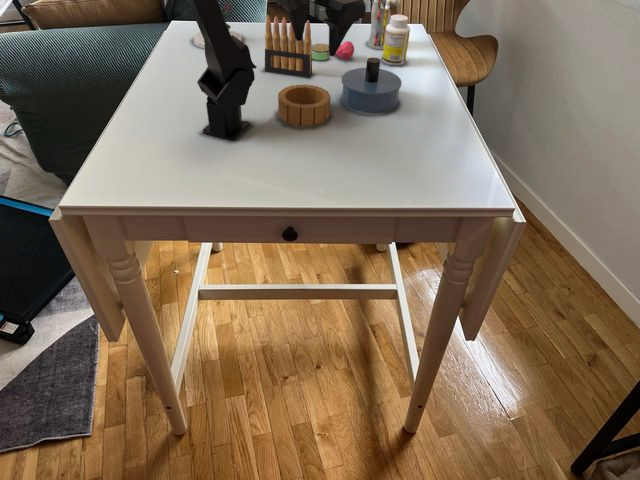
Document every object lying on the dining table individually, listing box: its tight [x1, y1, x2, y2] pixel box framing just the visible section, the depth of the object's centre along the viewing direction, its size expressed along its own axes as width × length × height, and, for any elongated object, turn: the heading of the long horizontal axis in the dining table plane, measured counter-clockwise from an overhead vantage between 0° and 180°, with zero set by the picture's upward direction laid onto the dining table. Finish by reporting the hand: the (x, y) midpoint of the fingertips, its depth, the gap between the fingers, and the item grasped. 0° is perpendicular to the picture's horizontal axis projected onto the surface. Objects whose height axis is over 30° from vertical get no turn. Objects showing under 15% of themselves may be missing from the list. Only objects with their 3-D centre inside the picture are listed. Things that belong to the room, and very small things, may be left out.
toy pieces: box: [311, 40, 355, 62], centre depth 117 cm, size 12×11×4 cm
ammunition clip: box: [264, 14, 313, 79], centre depth 106 cm, size 11×2×12 cm, turn 75°
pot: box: [341, 84, 400, 114], centre depth 99 cm, size 11×11×4 cm
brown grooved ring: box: [277, 84, 331, 127], centre depth 94 cm, size 10×10×4 cm
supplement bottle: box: [381, 14, 411, 66], centre depth 113 cm, size 6×6×10 cm
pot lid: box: [341, 57, 403, 96], centre depth 96 cm, size 12×12×5 cm
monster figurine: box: [192, 1, 243, 50], centre depth 119 cm, size 12×12×10 cm
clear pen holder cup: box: [367, 0, 401, 50], centre depth 119 cm, size 7×7×15 cm
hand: (315, 47), depth 90 cm, fingers open, 9 cm apart
